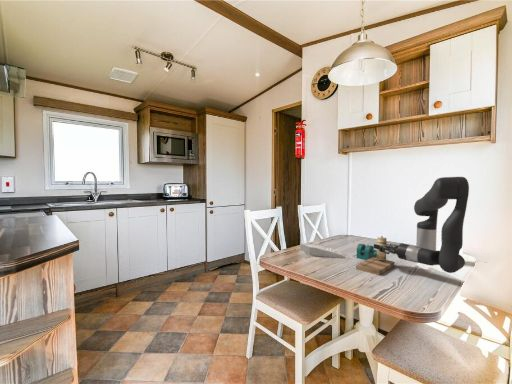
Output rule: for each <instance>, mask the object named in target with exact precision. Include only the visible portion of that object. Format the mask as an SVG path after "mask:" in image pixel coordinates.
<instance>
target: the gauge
mask: <svg viewBox="0 0 512 384" xmlns="http://www.w3.org/2000/svg"><path fill="white" fill-rule="evenodd" d="M376 244H377V245H382V246H386V244H388V240H387V237H383V235H382V236H381V235H380V236H377V238H376ZM376 250H377V257H376V258H377V259H379V260H387V254H386V253H383V252H380V251H379V249H376Z"/></svg>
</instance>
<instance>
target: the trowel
mask: <svg viewBox="0 0 512 384" xmlns="http://www.w3.org/2000/svg"><path fill="white" fill-rule="evenodd" d="M300 249H301V250H302V251H301V250H300ZM299 250H300V251H301V252H303V251H304V254H306V253H307V254H306V255H308V256H309V255H311V257H325V258H341V259H344V258H345V256H344V254H342V253H341V252H340V251H338V250H337V249H335V248H332V247H327V246H326V247H325V246H321V245H315V244H312V243H307V242H303V241H300V243H299Z"/></svg>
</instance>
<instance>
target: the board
mask: <svg viewBox="0 0 512 384" xmlns="http://www.w3.org/2000/svg"><path fill="white" fill-rule="evenodd" d="M393 267H395V261H394V260H393V261H392V260H387V259H386V260H379V259H377V257H376V258H375V257H372V258H370V259H368V260H364V261H361V262H360V263H358V264H356V265H355V269H356V270H358V271H362V272H366V273H369V274H373V275H377V276H380V275H382V274H384V273H386V272H387V271H388V270H390V269H392V268H393Z"/></svg>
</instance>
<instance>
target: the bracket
mask: <svg viewBox="0 0 512 384" xmlns="http://www.w3.org/2000/svg"><path fill="white" fill-rule="evenodd" d="M372 257H375V258H377V249H375V248H374V245H369V244H364V243H358V244H357V246H356V258H357V259H360V260H364V261H366V260H368V259H370V258H372Z"/></svg>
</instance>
